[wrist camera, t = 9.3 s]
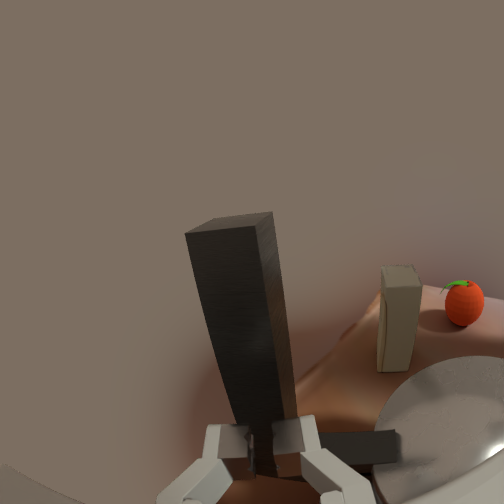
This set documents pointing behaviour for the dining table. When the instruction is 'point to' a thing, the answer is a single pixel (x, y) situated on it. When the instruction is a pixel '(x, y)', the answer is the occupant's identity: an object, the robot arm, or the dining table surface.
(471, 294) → the clementine
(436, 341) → the dining table surface
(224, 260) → the lid
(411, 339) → the skincare box
